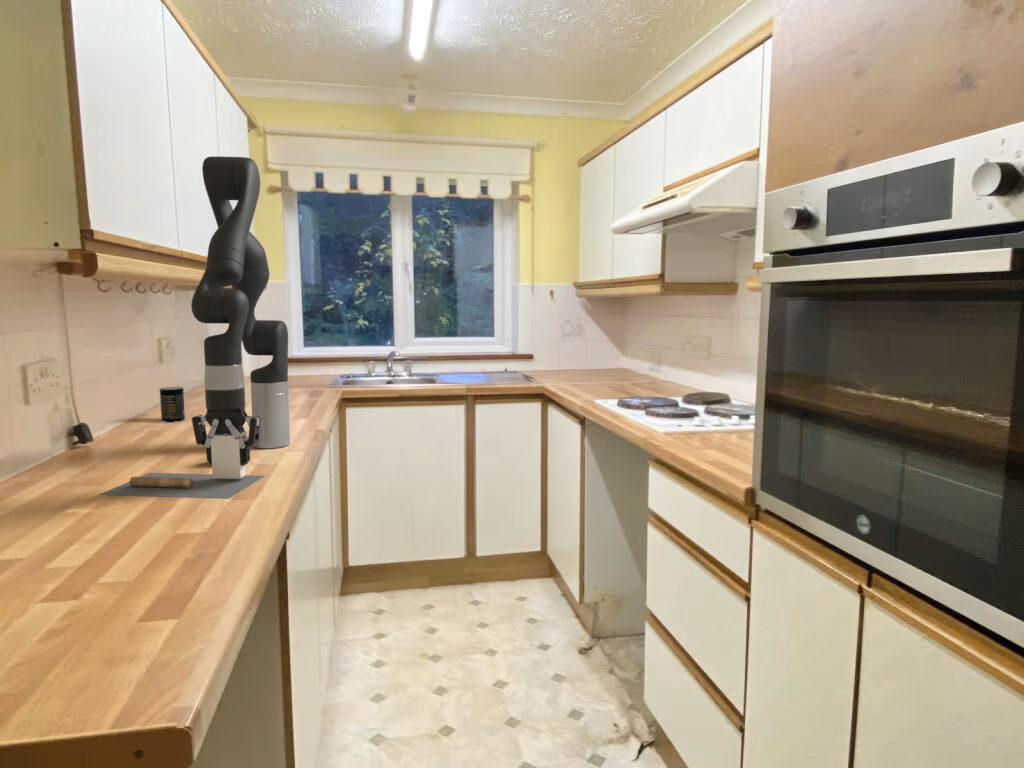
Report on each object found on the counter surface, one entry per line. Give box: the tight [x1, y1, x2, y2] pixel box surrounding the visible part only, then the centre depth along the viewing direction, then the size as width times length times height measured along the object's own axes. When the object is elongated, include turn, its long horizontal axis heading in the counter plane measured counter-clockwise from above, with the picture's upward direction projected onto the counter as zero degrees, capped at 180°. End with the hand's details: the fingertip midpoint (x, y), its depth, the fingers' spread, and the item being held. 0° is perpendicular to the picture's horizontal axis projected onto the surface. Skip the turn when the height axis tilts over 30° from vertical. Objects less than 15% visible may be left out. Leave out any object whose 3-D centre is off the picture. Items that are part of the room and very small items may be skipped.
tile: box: [211, 434, 247, 478], centre depth 133 cm, size 2×6×9 cm, turn 87°
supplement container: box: [159, 386, 186, 423], centre depth 199 cm, size 7×7×10 cm
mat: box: [98, 472, 265, 500], centre depth 130 cm, size 16×26×1 cm, turn 87°
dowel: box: [129, 476, 193, 488], centre depth 128 cm, size 2×12×2 cm, turn 87°
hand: (228, 464), depth 133 cm, fingers closed on tile, 6 cm apart
